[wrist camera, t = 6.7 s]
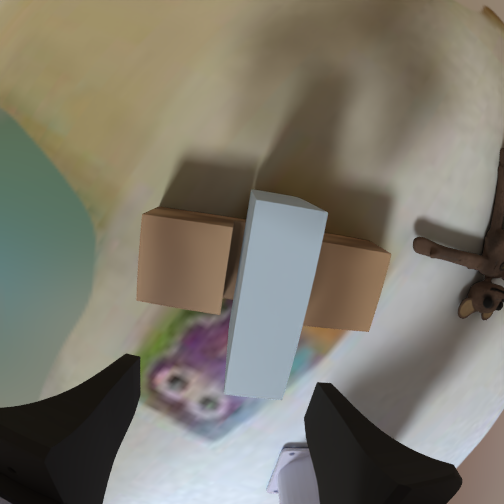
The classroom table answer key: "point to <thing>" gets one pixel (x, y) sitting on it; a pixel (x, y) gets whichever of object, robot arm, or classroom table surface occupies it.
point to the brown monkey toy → (478, 259)
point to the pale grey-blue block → (271, 292)
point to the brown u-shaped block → (227, 262)
